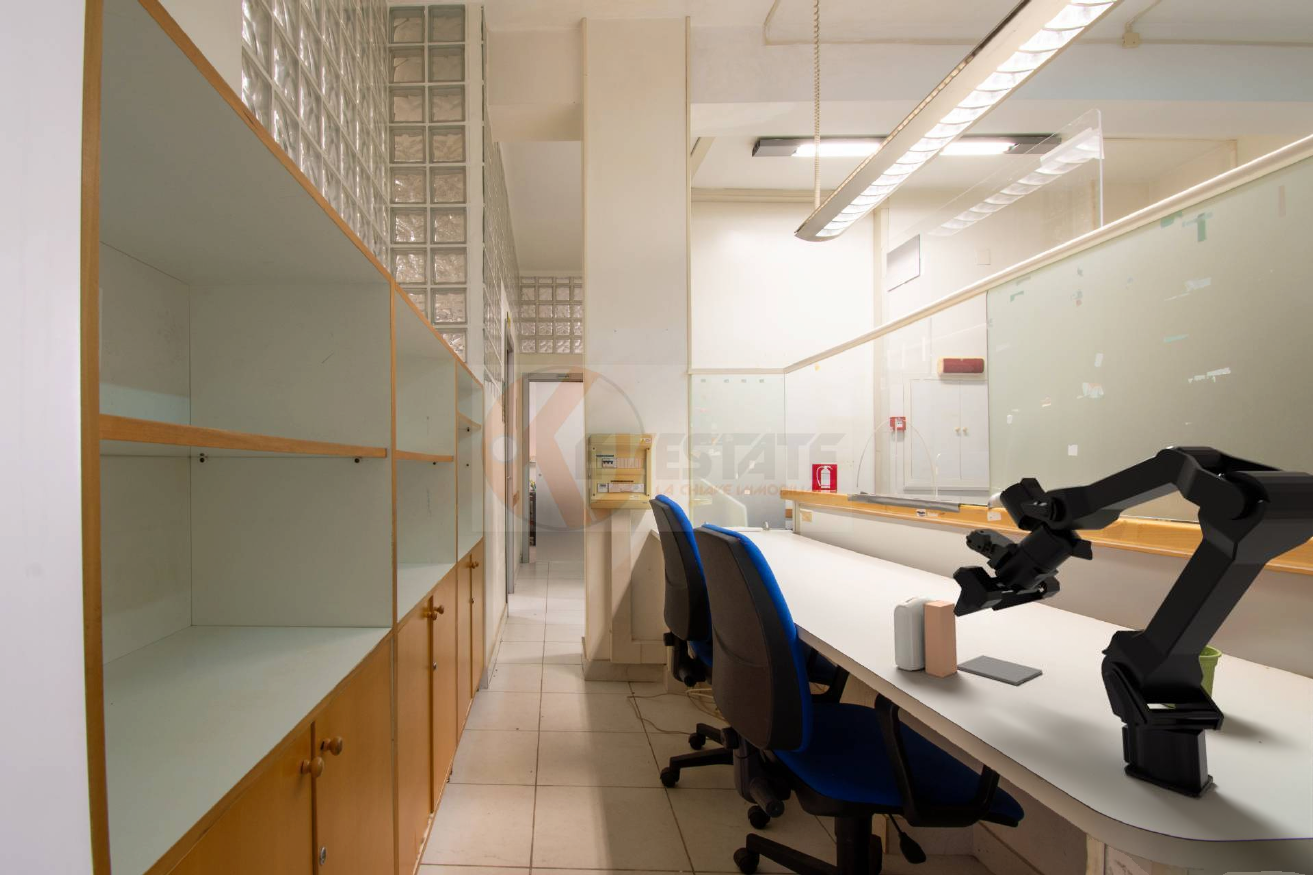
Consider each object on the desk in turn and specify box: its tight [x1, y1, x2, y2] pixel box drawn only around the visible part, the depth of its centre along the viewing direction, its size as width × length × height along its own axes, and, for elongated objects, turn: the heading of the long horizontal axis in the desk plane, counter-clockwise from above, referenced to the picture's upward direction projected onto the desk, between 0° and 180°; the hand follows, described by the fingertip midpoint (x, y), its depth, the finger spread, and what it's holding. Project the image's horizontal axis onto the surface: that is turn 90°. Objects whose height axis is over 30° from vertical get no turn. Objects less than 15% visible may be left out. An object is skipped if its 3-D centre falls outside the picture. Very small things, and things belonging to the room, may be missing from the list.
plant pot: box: [1163, 645, 1223, 708], centre depth 85 cm, size 9×9×9 cm
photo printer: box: [893, 595, 936, 672], centre depth 104 cm, size 10×4×12 cm, turn 123°
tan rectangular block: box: [923, 599, 958, 678], centre depth 100 cm, size 3×5×12 cm, turn 125°
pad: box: [957, 655, 1043, 686], centre depth 100 cm, size 10×10×1 cm
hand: (974, 611), depth 94 cm, fingers open, 9 cm apart
